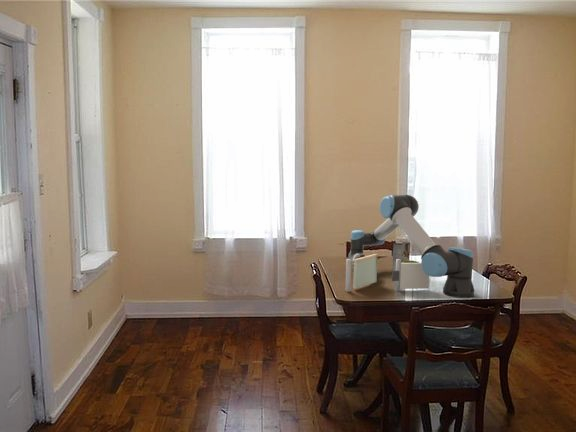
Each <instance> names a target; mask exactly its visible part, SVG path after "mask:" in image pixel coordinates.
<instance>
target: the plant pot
mask: <svg viewBox="0 0 576 432" xmlns="http://www.w3.org/2000/svg"><path fill="white" fill-rule="evenodd" d="M402 263H420V261H417V260H411V259H409V260H407V261H402Z"/></svg>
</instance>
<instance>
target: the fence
mask: <svg viewBox="0 0 576 432" xmlns="http://www.w3.org/2000/svg"><path fill="white" fill-rule="evenodd" d="M345 261H346V262H345V287H344V288H345V292H351V283H352V282H351V280H352V279H351V277H352V262H351V259H349V258H347V259H346V260H345ZM422 266H423V265H422V264H421V262H419V263H401V259H396V270H391V281H392V282H394V291H395V292H400V290H403V289H404V290H408V289H409V290H411V289H412V290H417V289H422V290H423V289H426V290H427V289H430V288H429V287H430V276H429V275H427V274H426V273H425V272H424V270H423V268H422Z"/></svg>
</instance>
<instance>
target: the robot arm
mask: <svg viewBox="0 0 576 432" xmlns="http://www.w3.org/2000/svg"><path fill="white" fill-rule="evenodd" d="M418 211H419V201H418V200H417V199H416V197H414V196H413V195H411V194H410V195H409V194H397V195H395V194H394V195H386V196H384V197H383V198H382V199H381V201H380V204H379V213H380V214H381V217H382V218H384V219H386V220H384V221H383V222H382V223H381V224H380V225H378V227H376V228H375V229H374V231H372V232H365V231H364V230H361V229H358V230H357V229H355V230H352V231H351V233H350V251H349V253H348V259H351V263H352V266H353V267H354V259H358V258H361V257H365V256H366V255H365V254H364V250H365V249H364V248H365V247H371V246H372V247H373V246H379V245H383V244H385V241H386V238H387V237H389V235H391V234H392V233H393V232H394V231H395V230H397V229H398V228H400V229H401V230H402V231H403V233H404V234H405V235H406V236H407V238H408V239H409V241H410V243H412V244H413V246H414V247H415V248H416V249H417V250H418V251H417V252H418V253H419V254H420V255H421V256H420V260H421V262H420V263H421V264H422V265H423V266H422V268H423V270H424V272H425V273H426V274H427V275H429V277H431V278H432V277H433V278H437V277H438V278H441V277H445V276H447V277H446V280H445V282H444V285H443V287H442V293H443V294H444V295H446V296H448V297H454V298H459V299H460V298H461V299H463V298H473V297H475V293H476V292H475V287H474V283H473V280H472V279H473V265H474V264H473V263H474V252H473V251H472V250H471V249H468V248H463V247H456V246H449V247H448V250H447V251H446V250H445V249H444V248H443V247H442V245H440V244H437V243H435V242H434V240H433V239H432V238H431V237H430V236H429V234H428V233H427V232H426V231H425V230H424V228H423V227H422V226H421V224H420V223H419V222H418V220H417V219H416V218H415V216H416V215H417V213H418ZM472 296H473V297H472Z"/></svg>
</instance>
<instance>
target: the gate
mask: <svg viewBox="0 0 576 432" xmlns="http://www.w3.org/2000/svg"><path fill="white" fill-rule="evenodd" d="M378 255H379V254H377V253H373V254H371V255H370V254H369V255H365V257H361V258H358V259H354V266H353V281H352V282H353V284H352V289H355V290H356V289H359V288H362V287H365V286H368V285H370V284H375V283H377V282H378V281H377V280H378V260H379V259H378Z"/></svg>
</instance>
